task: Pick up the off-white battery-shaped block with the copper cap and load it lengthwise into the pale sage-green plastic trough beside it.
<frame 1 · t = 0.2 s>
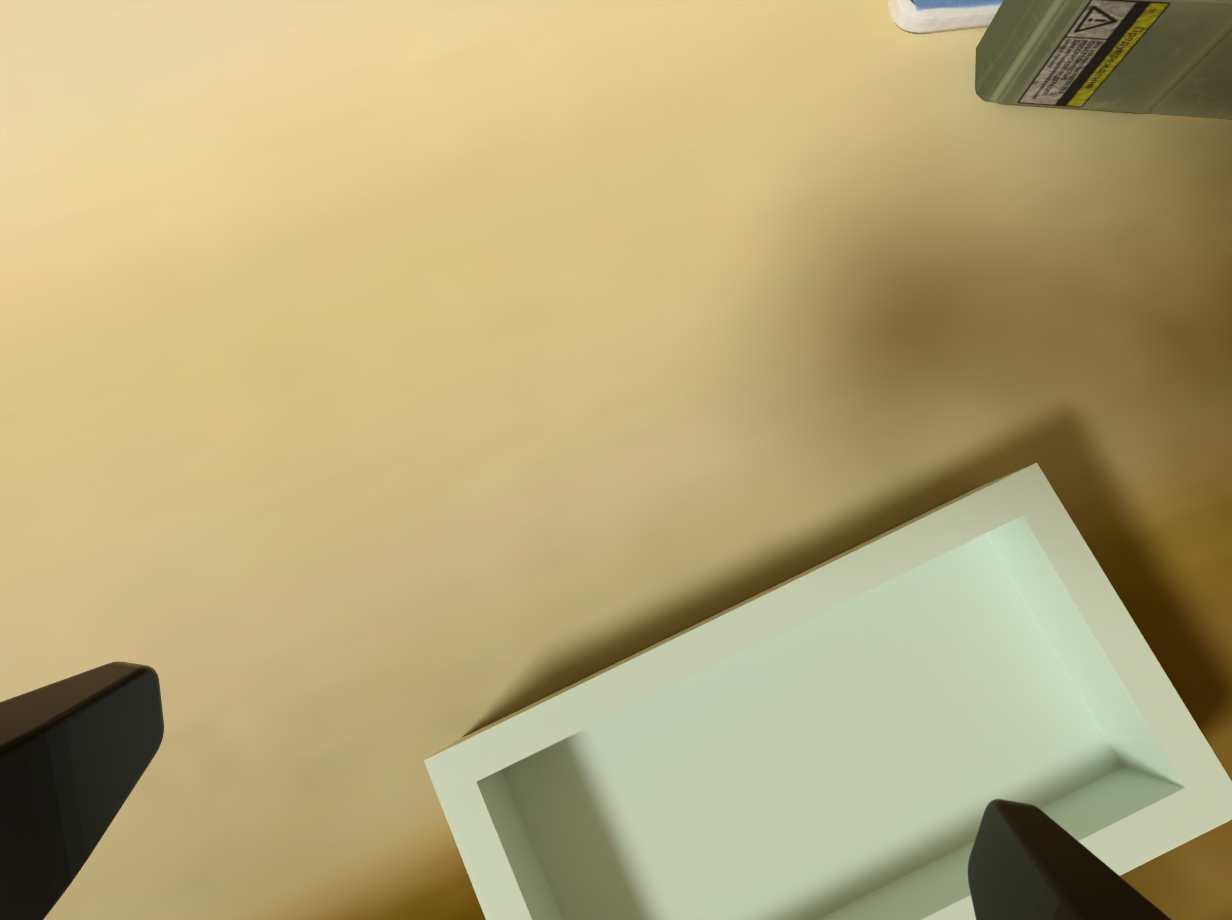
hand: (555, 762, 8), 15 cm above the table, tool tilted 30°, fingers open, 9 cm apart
trough: (796, 757, 22), on the table
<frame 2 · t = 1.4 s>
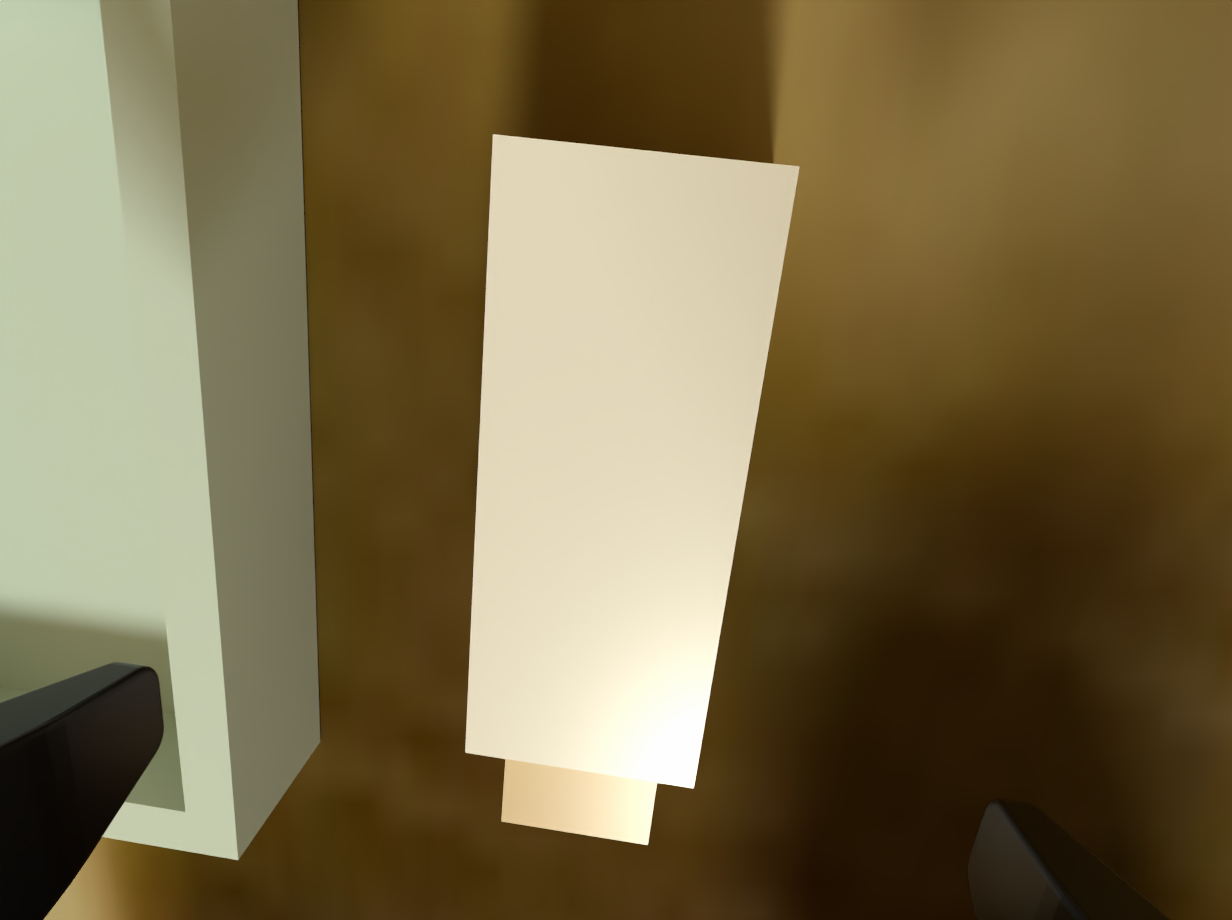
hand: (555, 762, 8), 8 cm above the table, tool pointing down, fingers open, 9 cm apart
trough: (99, 372, 16), on the table
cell: (624, 475, 16), on the table
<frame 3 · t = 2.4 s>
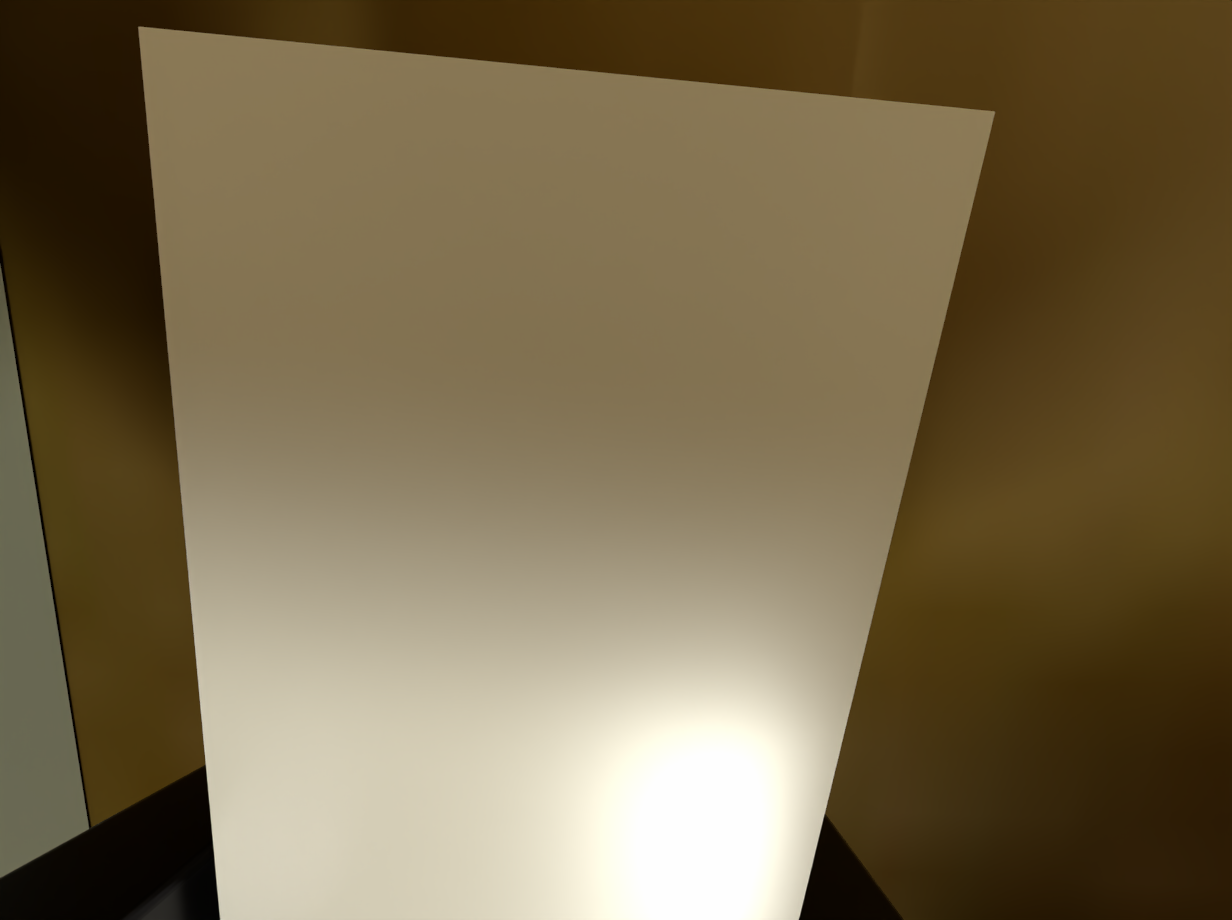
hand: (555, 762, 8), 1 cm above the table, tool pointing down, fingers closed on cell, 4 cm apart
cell: (574, 670, 9), on the table, touching gripper
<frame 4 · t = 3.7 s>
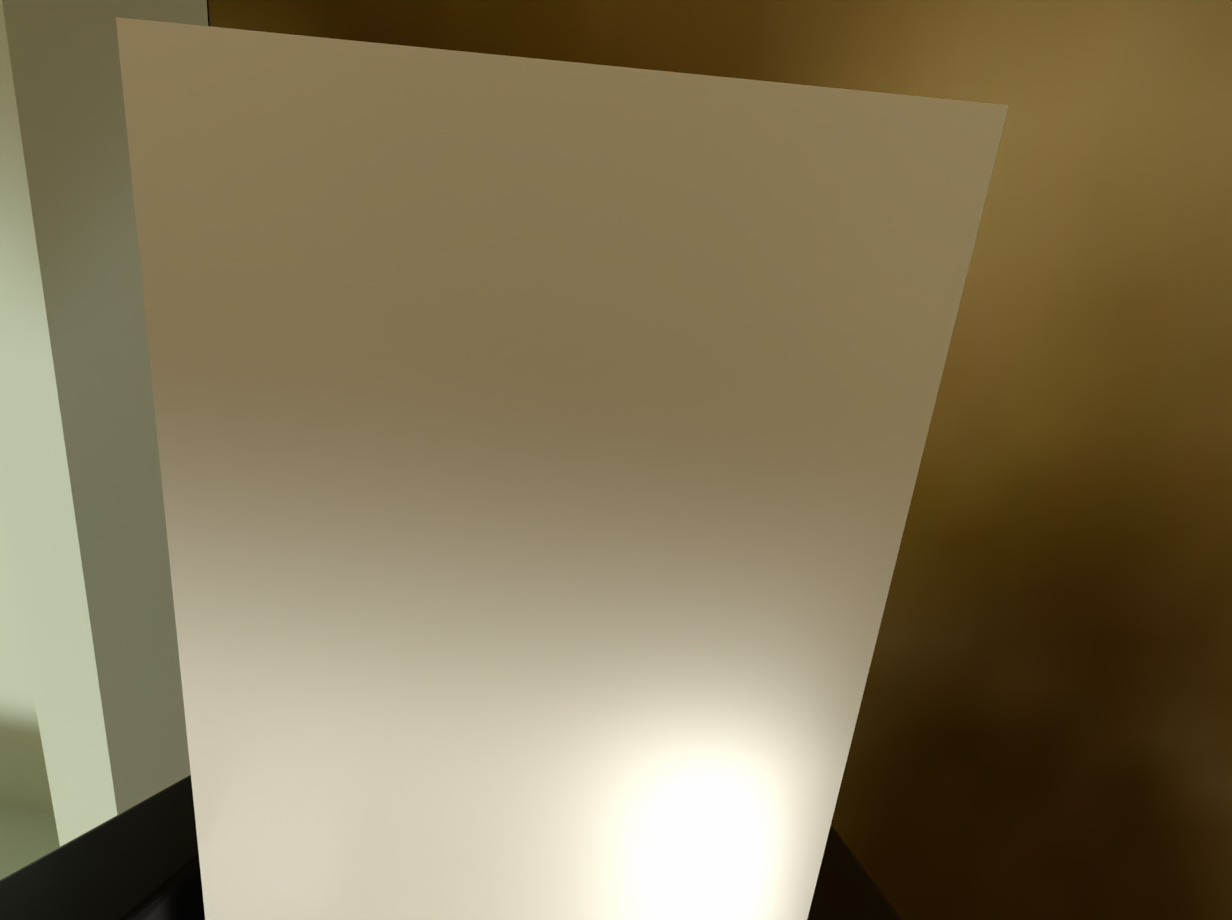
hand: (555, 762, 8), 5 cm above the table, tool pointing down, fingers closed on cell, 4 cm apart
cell: (573, 678, 9), point 4 cm above the table, touching gripper
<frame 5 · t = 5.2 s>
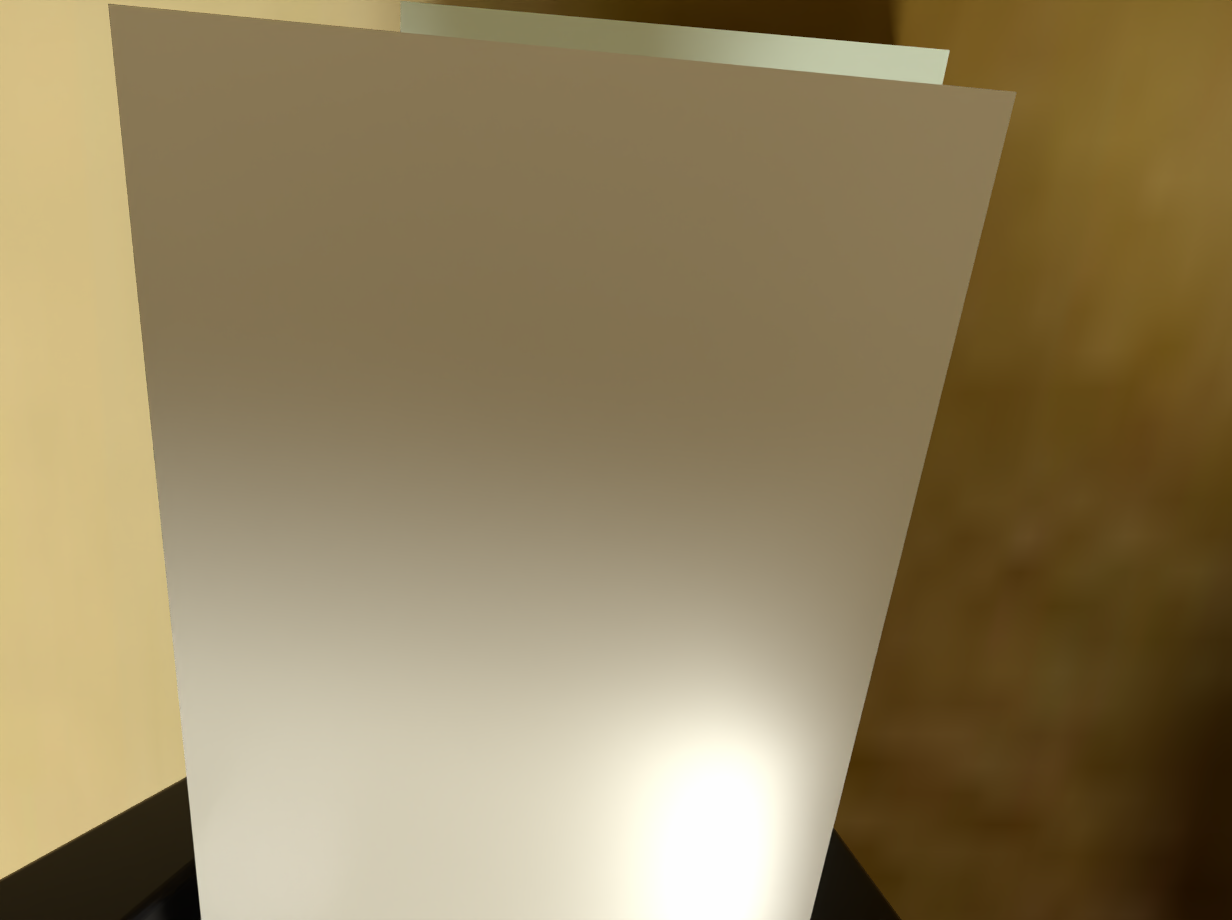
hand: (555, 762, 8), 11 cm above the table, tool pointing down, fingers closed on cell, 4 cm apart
trough: (632, 450, 19), on the table
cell: (573, 676, 9), point 10 cm above the table, touching gripper
when the fingers open (4 cm above the table, at t = 6.6 s): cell drops 2 cm, resting on trough.
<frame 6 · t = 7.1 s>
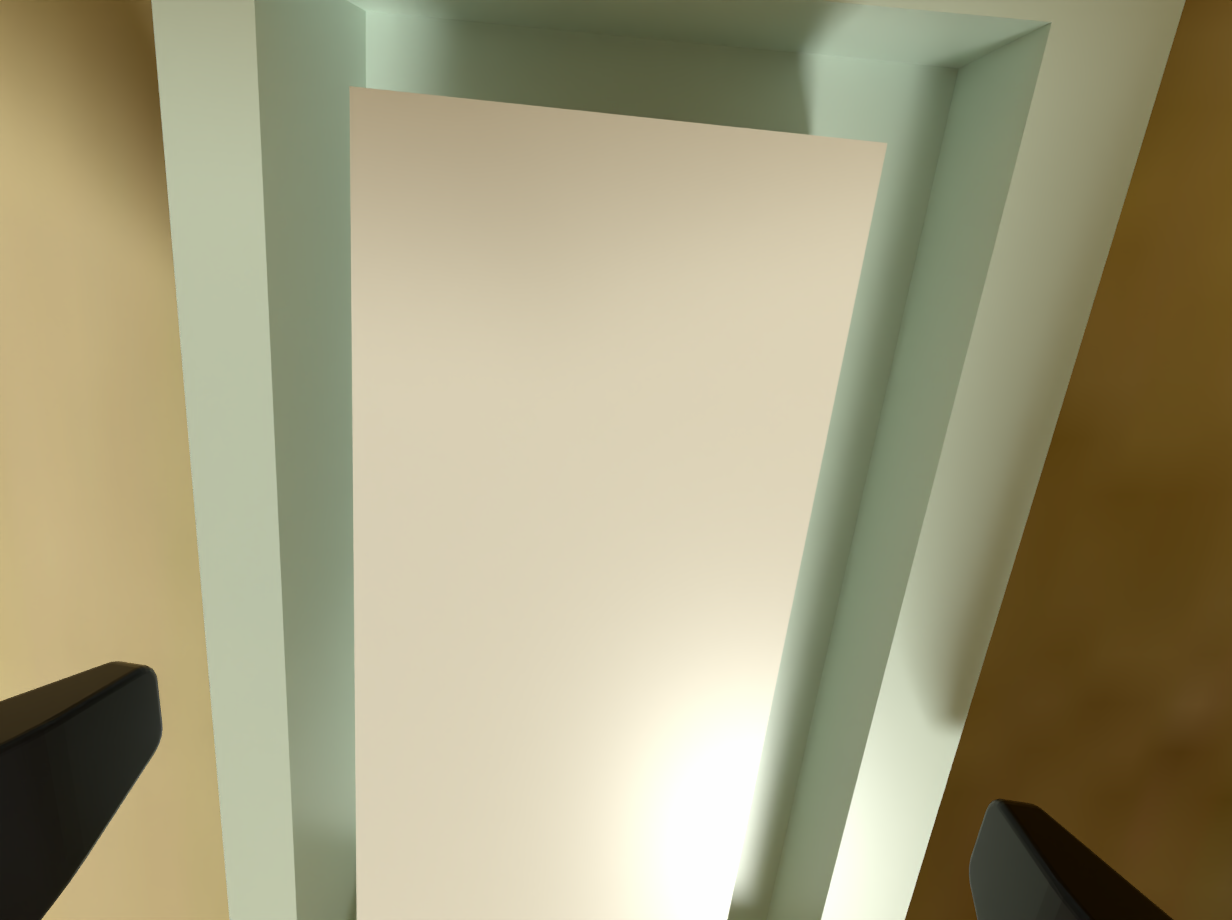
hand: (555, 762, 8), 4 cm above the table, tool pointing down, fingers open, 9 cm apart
trough: (602, 569, 12), on the table
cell: (599, 581, 11), point 1 cm above the table, touching trough
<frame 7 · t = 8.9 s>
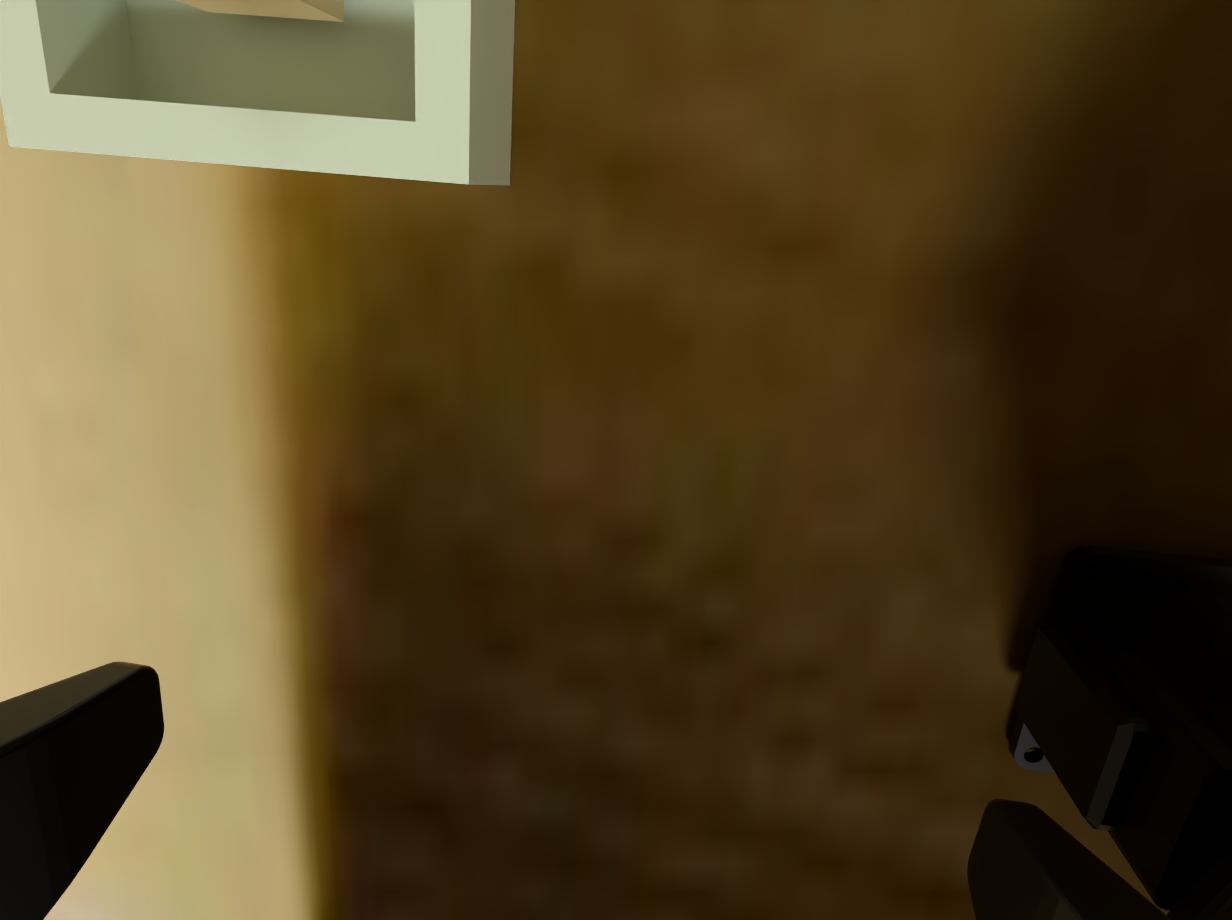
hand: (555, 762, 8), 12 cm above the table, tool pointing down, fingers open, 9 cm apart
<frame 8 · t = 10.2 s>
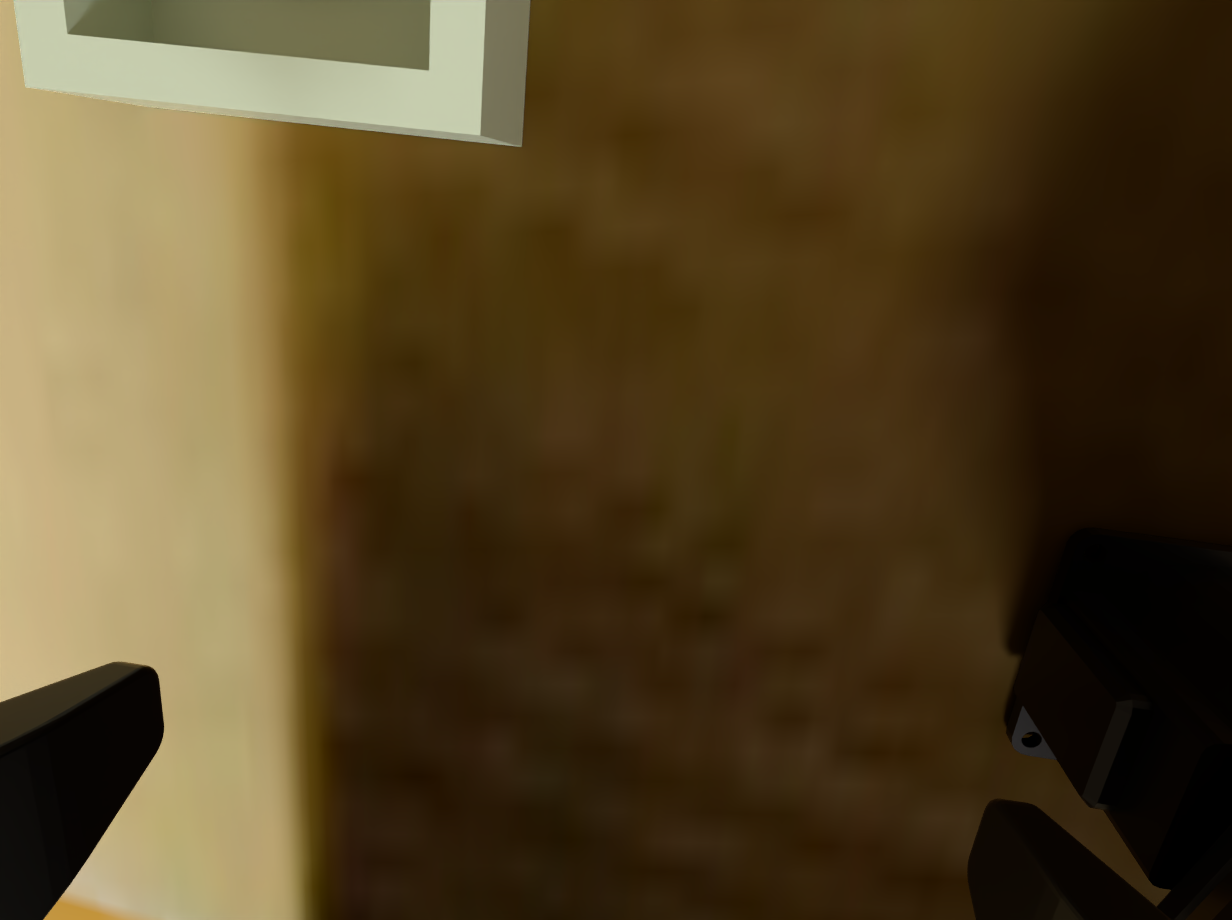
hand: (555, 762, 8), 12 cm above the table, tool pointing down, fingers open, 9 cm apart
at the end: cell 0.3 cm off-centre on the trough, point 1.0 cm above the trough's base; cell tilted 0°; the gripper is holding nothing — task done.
